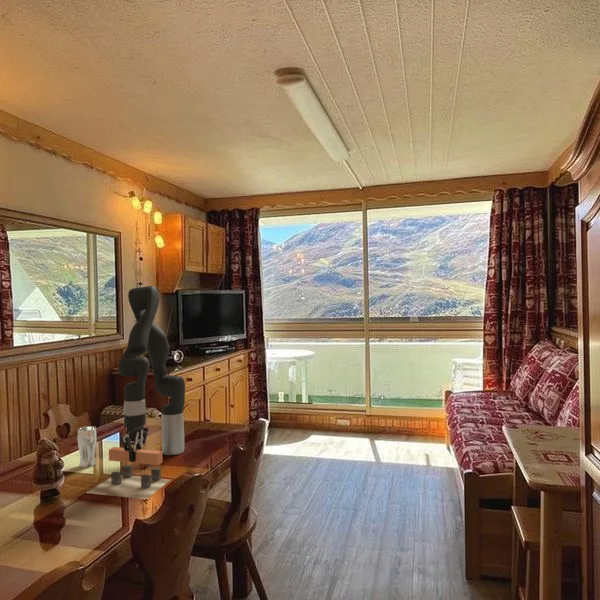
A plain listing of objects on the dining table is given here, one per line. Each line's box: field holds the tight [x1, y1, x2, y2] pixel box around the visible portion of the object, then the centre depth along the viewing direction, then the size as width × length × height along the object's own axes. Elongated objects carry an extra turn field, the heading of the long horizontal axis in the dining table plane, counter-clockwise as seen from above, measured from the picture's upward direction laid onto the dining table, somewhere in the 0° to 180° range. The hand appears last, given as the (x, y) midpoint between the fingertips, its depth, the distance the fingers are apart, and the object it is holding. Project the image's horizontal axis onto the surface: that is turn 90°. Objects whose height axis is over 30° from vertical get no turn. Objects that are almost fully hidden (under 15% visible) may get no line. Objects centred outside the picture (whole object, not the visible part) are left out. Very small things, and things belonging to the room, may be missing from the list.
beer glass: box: [77, 425, 97, 469], centre depth 191 cm, size 7×7×15 cm
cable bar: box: [108, 446, 163, 466], centre depth 170 cm, size 3×20×4 cm, turn 75°
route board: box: [86, 464, 171, 500], centre depth 167 cm, size 17×23×5 cm
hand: (135, 459), depth 170 cm, fingers closed on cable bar, 3 cm apart
